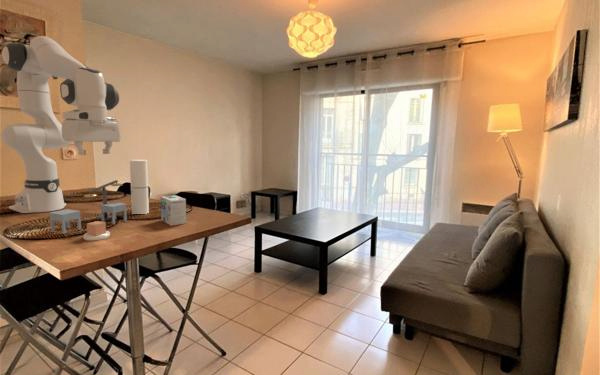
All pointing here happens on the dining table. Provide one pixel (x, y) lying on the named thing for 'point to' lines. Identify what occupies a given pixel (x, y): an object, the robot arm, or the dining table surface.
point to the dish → (94, 238)
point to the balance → (106, 216)
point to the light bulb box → (173, 210)
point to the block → (96, 228)
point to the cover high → (113, 210)
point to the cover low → (65, 219)
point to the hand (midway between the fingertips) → (94, 154)
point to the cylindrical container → (139, 186)
